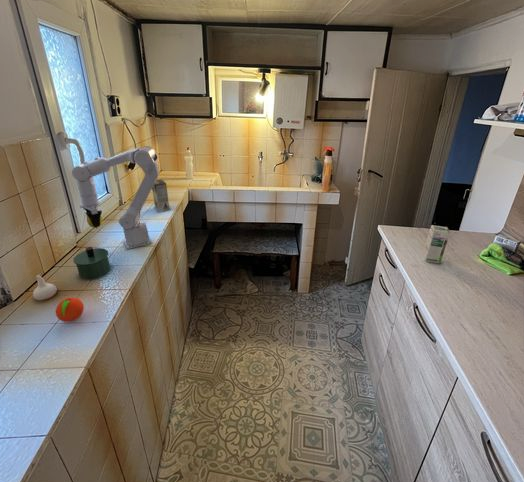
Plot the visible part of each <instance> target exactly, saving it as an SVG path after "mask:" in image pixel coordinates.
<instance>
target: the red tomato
mask: <svg viewBox="0 0 524 482" xmlns="http://www.w3.org/2000/svg"><path fill="white" fill-rule="evenodd" d="M84 309H85V306H84V303H83V301H82V300H81V299H80V298H77V297H73V296H72V297H67V298H64V299H62V300H61V301H59V303H58V304H57V305H56V307H55V316H56V318H57V319H58V320H60V321H62V322H66V323H69V322H74V321H76V320H78V319H79V318H80V317H81V316H82V315H83V313H84Z"/></svg>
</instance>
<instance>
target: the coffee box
mask: <svg viewBox="0 0 524 482" xmlns="http://www.w3.org/2000/svg"><path fill="white" fill-rule="evenodd" d="M151 192H152V196H153V203H154V207H155V209H156V210H157V211H158V212H159V213H161V212H166V211H170V209H171V208H170V202H169V193H168V187H167V183H166V181H164V179H162V178H161V179H157V180H156V182H155V184H154V185H153V187H152V189H151Z"/></svg>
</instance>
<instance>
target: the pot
mask: <svg viewBox="0 0 524 482" xmlns="http://www.w3.org/2000/svg"><path fill="white" fill-rule="evenodd" d="M75 265H76V266H75V267H76V269H77V272H78V275H79V277H80V279H82V280H87V281H91V280H96V279H100V278H102V277H105V276H106V275H107V274H108V273H110V271H111V264H110V260H109V255H108V256H107V257H106V258H105V259H104V260H102V261H100V262H98V263H95V264H91V265H84V266H82V265H77V264H75Z"/></svg>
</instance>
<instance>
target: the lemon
mask: <svg viewBox="0 0 524 482" xmlns="http://www.w3.org/2000/svg"><path fill="white" fill-rule="evenodd" d="M86 222H87V224H88V226H89V227H91V228H94V229H98V228H99V227H94V226H93V224H92V222H91V220H90V218H89V217H88V216H87V215H86ZM102 224H103V218H102V215H101V216H100V226H101V225H102Z"/></svg>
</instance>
